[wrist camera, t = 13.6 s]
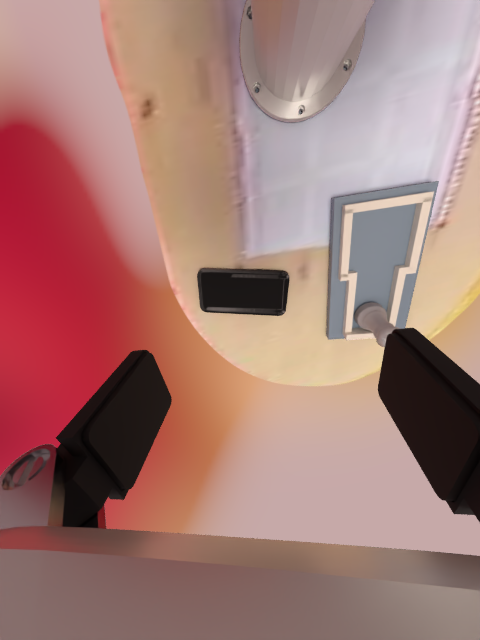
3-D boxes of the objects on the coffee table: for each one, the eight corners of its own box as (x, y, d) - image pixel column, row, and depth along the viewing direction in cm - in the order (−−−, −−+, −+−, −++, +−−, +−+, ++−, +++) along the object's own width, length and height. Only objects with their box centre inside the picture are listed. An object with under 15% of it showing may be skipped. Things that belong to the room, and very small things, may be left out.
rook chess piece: (371, 295, 34) (398, 319, 27) (389, 312, 35) (420, 340, 28) (347, 314, 36) (367, 342, 29) (364, 330, 37) (388, 360, 30)
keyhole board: (331, 198, 30) (339, 197, 27) (430, 182, 28) (451, 179, 25) (326, 334, 40) (331, 346, 37) (398, 329, 38) (410, 341, 35)
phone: (285, 316, 38) (200, 312, 39) (284, 313, 39) (202, 309, 40) (290, 271, 34) (196, 268, 36) (289, 269, 35) (198, 266, 37)
